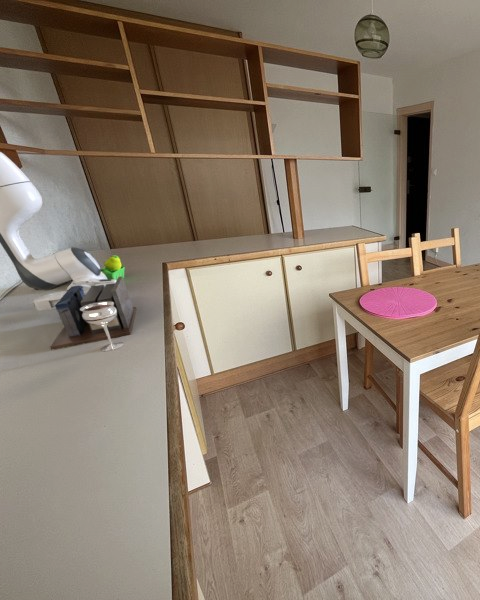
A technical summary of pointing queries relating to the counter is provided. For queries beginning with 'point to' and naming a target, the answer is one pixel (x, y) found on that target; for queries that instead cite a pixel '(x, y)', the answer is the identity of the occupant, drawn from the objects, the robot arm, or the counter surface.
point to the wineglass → (101, 319)
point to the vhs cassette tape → (72, 311)
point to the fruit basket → (113, 268)
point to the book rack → (115, 328)
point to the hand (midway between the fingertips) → (76, 305)
